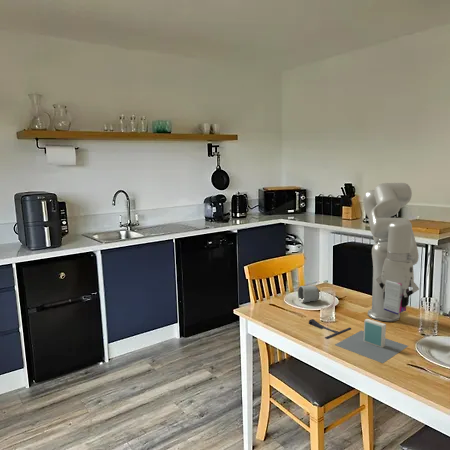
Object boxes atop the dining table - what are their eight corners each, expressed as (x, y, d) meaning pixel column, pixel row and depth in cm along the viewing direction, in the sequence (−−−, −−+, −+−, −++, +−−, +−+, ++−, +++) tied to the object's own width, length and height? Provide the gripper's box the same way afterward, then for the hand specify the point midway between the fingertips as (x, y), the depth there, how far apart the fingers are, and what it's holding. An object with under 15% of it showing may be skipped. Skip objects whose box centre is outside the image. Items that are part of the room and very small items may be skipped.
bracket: (321, 320, 167) (321, 314, 166) (351, 332, 155) (352, 325, 154) (297, 329, 158) (297, 323, 158) (327, 342, 146) (327, 335, 146)
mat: (361, 331, 153) (361, 330, 153) (408, 347, 140) (408, 345, 140) (334, 346, 142) (334, 344, 142) (382, 365, 128) (382, 363, 128)
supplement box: (398, 314, 143) (400, 284, 141) (383, 309, 148) (384, 280, 146) (407, 310, 147) (409, 280, 144) (392, 305, 151) (393, 276, 149)
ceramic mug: (320, 303, 185) (320, 287, 184) (304, 304, 183) (304, 288, 182) (310, 296, 195) (310, 281, 194) (294, 297, 193) (294, 282, 192)
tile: (366, 339, 145) (367, 318, 144) (384, 346, 140) (385, 324, 139) (363, 341, 144) (364, 320, 143) (381, 347, 139) (382, 325, 137)
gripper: (427, 258, 139) (424, 307, 143) (380, 250, 152) (378, 295, 156) (418, 263, 134) (414, 313, 138) (370, 253, 147) (368, 300, 151)
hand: (395, 303), depth 147 cm, fingers closed on supplement box, 6 cm apart
